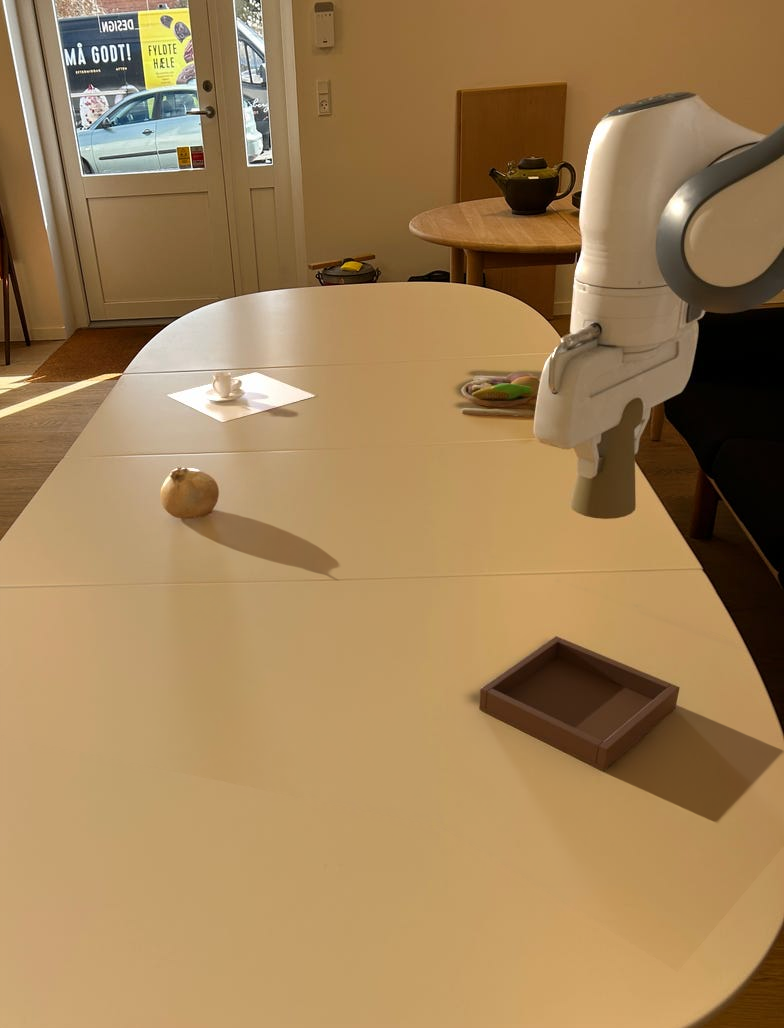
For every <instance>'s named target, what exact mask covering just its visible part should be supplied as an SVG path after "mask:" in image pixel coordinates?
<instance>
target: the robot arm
mask: <svg viewBox="0 0 784 1028" xmlns="http://www.w3.org/2000/svg"><path fill="white" fill-rule="evenodd" d="M592 133H593V134H592V136H591V140H590V144H589V147H588V152H587V156H586V163H585V167H584V175H583V182H582V189H581V197H580V206H579V217H578V225H579V230H580V236H581V250H580V256H579V259H578V262H577V264H576V268H575V271H574V279H573V288H572V289H573V290H572V300H571V301H572V302H571V315H570V324H569V325H570V326H569V333H567V334H565V335H563V336H562V337H561V338H560V339H559V344H558V345H557V346H556V347H555V349H554V352H552V353H551V354H550V356H549V357H548V358H547V360H546V361H545V364H544V366H543V368H542V372H541V375H540V379H539V381H540V385H539V390H538V394H537V397H536V403H535V409H534V410H535V411H534V417H533V418H534V419H533V434H534V436H535V439H536V440H537V441H538V442H539V443H540V444H543V445H547V446H550V447H552V448H553V447H554V448H557V449H561V450H572V449H574V452H575V454H576V456H577V465H576V474H577V473H578V474H579V475H580V476H582V477H586V478H589V479H590V478H593V477H595V476H597V475H598V474H600V473H601V472H602V471H603V467H602V465H603V462H604V456H600V455H599V454H598V449H597V444H598V443H600V441H601V433H603V432H605V431H607V430H609V429H611V428H613V427H615V426H617V425H618V424H619V423H620V420H621V418H622V414H623V411H624V408H625V406H626V405H627V404H628V403H629V402H630V401H631V400H633V399H635V398H640V399H641V400H642V402H643V416H642V419H641V422H640V424H639V425H638V426H637V427H636V428H635V430H634V433H635V455H636V454H638V452H639V446H640V439H641V437H642V435H643V433H644V432H645V431H644V430H645V428H646V426H647V424H648V421H649V420H650V418H651V411H652V408H653V407H655V406H657V405H660V404H662V403H664V402H665V401H667V400H669V399H671V398H674V397H676V396H677V395H680V394H682V392H683V391H684V390H685V388H686V386H687V384H688V382H689V380H690V377H691V374H692V371H693V367H694V366H693V365H694V361H695V356H696V350H697V344H698V339H699V322H698V321H699V320H701V319H702V318H703V317H704V315H705V314H706V312H708V313H714V314H735V313H736V314H737V313H741V312H745V311H749V310H752V309H755V308H757V307H760V306H761V305H765V304H766V303H768V302H769V301H770V300H772V299H774V298H775V297H777V296H778V295H779V294H781V293H782V292H783V291H784V121H782V123H781V124H779V126H777V127H776V128H775V129H774V130H773V131H771V132H770V133H769V134H767V135H766V134H763V133H760V132H757V131H755V130H753V129H749V128H747V127H745V126H742V125H741V124H738V123H736V122H734V121H732V120H731V119H729V118H727V117H725V116H724V115H723V114H720V113H719V112H717V111H716V110H715V109H713V108H712V107H711V106H709V105H708V104H707V103H706V102H705V101H704V100H703V98H702V97H701V96H700V95H699V94H697V93H694V92H690V91H675V92H673V93H671V92H670V93H664V94H660V95H655V96H651V97H647V98H643V99H640V100H636V101H633V102H630V103H625V104H622V105H620V106H618V107H616V108H614V109H612V110H611V111H610V112H608V113H607V114H606V115H605V116H604V117H602V118H601V120H600V121H599V122H598V123H597V125H596V127H595V128H594V131H593V132H592Z"/></svg>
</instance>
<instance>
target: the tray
mask: <svg viewBox="0 0 784 1028" xmlns="http://www.w3.org/2000/svg"><path fill="white" fill-rule="evenodd" d="M679 693H680V686H678V685H676V684H673V683H670V682H668V681H666V680H663V679H661V678H658V677H657V676H653V675H651V674H649V673H646V672H644V671H641V670H639V669H637V668H635V667H632V666H630V665H627V664H624V663H622V662H620V661H618V660H615V659H614V658H613V659H612V658H610V657H608V656H606V655H603V654H601V653H598V652H596V651H593V650H591V649H588V648H586V647H583V646H581V645H579V644H577V643H574V642H572V641H569V640H567V639H564V638H561V637H559V636H554V637H552V638H551V639H549V640H548V641H547V642H545V643H544V644H542V645H540V646H539V647H538V648H537V649H535V650H534V651H532V652H531V653H530V654H528V655H527V656H525V657H523V658H522V659H521V660H519V661H518V662H516V663H515V664H513V665H512V666H511V667H509V668H507V669H506V670H505V671H503V672H502V673H501V674H499V675H498V676H496V677H495V678H493V679H491V681H489V682H488V683H486V684H485V685H483V686H482V687H481V688H480V690H479V705H478V709H479V710H480V711H481V712H483V713H485V714H487V715H489V716H492V717H493V718H496V719H497V720H499V721H502V722H504V723H505V724H507V725H510V726H511V727H513V728H515V729H517V730H519V731H522V732H523V733H526V734H528V735H529V736H531V737H534V738H535V739H537V740H540V741H542V742H543V743H546V744H547V745H550V746H552V747H554V748H555V749H558V750H560V751H562V752H564V753H566V754H567V755H570V756H572V757H574V758H575V759H577V760H579V761H581V762H583V763H585V764H587V765H589V766H592V767H594V768H595V769H597V770H599V771H601V772H605V771H606V770H607V769H608V768H609V767H611V765H613V764H614V763H615V762H616V761H618V759H620V758H621V757H622V756H623V755H624V754H625V753H627V752H628V751H629V750H630V749H631V748H633V747H634V745H636V744H637V743H638V742H639V741H640V740H641V739H643V738H644V737H645V736H646V735H647V734H649V732H650V731H651V730H653V729H654V728H655V727H656V726H657V725H658V724H660V723H661V722H662V721H664V719H666V718H667V717H668V716H669V715H670V714H671V713H672V712H673V711H675V709H676V708H677V702H678V698H679Z"/></svg>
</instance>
